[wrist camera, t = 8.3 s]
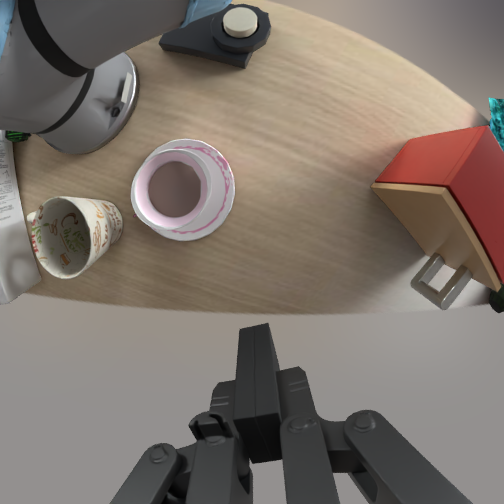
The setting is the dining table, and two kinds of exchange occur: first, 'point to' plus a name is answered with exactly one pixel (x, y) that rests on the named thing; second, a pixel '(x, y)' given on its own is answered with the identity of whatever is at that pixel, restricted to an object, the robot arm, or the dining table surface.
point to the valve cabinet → (460, 180)
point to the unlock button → (240, 22)
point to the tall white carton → (13, 233)
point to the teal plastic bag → (497, 120)
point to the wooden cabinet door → (439, 239)
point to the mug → (73, 233)
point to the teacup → (183, 190)
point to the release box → (218, 38)
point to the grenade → (497, 299)
